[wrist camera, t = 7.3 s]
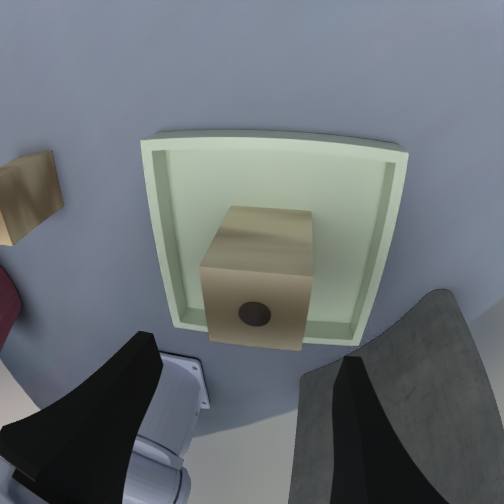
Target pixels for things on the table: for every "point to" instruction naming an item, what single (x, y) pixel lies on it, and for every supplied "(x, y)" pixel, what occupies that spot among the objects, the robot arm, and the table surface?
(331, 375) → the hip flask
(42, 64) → the table surface
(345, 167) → the tray
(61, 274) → the table surface
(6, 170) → the oak block
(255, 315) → the birch block
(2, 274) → the plant pot
